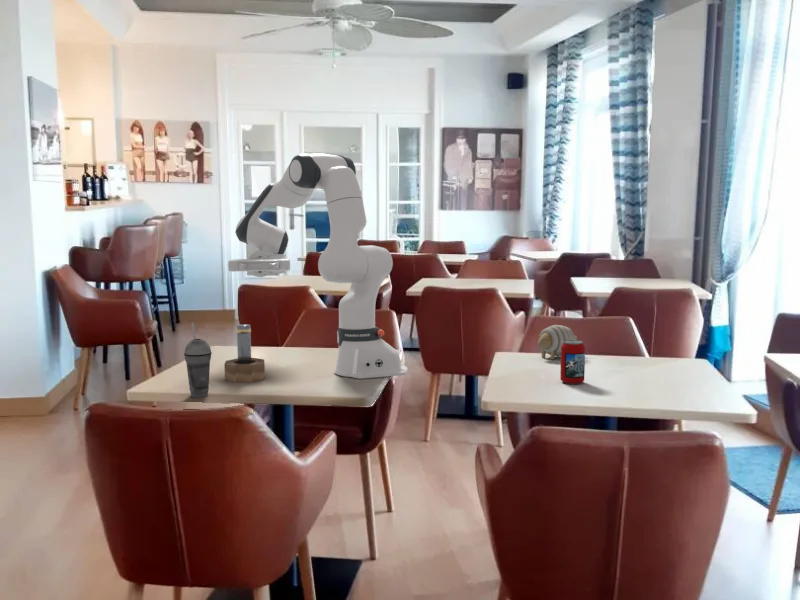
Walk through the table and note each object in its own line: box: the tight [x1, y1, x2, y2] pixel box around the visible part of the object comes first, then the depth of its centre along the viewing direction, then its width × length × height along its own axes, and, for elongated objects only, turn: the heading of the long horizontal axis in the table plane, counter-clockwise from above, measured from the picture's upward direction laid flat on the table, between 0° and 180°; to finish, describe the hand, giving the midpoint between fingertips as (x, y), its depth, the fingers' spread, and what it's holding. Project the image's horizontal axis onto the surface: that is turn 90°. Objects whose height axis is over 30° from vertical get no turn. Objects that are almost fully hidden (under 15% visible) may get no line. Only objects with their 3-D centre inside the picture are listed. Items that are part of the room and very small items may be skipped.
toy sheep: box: [537, 324, 578, 361], centre depth 257 cm, size 11×17×11 cm, turn 127°
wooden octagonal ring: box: [224, 357, 266, 383], centre depth 228 cm, size 12×12×5 cm
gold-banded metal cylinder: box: [235, 323, 252, 364], centre depth 227 cm, size 4×4×16 cm
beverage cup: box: [183, 322, 213, 398], centre depth 206 cm, size 7×7×20 cm
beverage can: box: [560, 339, 586, 385], centre depth 219 cm, size 7×7×12 cm
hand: (258, 266), depth 246 cm, fingers open, 8 cm apart
